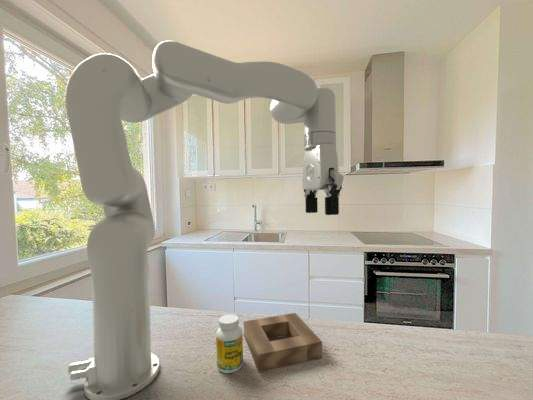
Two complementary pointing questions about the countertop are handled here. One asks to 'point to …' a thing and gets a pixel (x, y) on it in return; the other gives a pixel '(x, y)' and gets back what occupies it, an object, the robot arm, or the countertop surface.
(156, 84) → the robot arm
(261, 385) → the countertop surface
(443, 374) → the countertop surface
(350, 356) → the countertop surface
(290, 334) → the socket block
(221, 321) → the supplement bottle
